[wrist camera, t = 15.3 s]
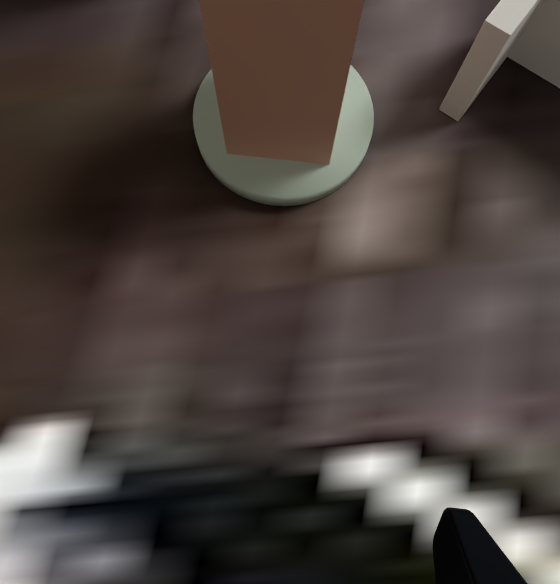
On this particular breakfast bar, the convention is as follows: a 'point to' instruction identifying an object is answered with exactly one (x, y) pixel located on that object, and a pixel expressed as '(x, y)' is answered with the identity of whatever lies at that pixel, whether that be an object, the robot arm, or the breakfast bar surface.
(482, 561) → the robot arm
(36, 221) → the breakfast bar surface
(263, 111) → the block
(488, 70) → the bay
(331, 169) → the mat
